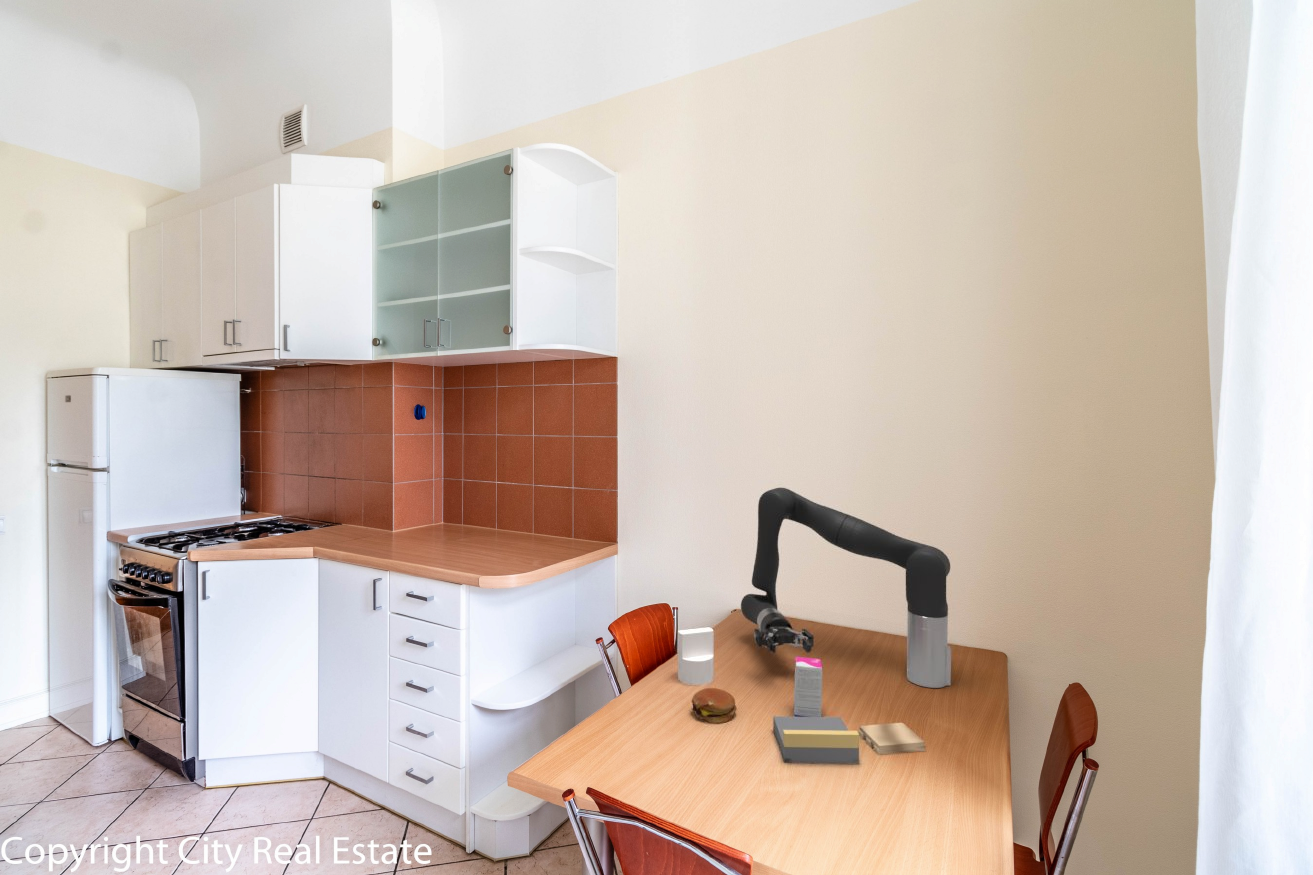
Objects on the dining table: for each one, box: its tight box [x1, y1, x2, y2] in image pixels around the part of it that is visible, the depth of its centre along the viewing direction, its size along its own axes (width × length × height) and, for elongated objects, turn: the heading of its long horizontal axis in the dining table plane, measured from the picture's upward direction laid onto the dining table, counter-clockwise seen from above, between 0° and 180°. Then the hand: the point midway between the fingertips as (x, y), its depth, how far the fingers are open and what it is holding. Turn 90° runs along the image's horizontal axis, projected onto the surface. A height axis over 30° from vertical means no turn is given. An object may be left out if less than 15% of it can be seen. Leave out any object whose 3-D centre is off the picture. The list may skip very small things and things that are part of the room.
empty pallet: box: [858, 722, 927, 756], centre depth 120 cm, size 10×8×2 cm
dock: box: [772, 715, 860, 765], centre depth 118 cm, size 14×12×6 cm
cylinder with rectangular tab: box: [677, 626, 715, 686], centre depth 151 cm, size 9×9×12 cm
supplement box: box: [793, 656, 823, 717], centre depth 132 cm, size 6×6×12 cm
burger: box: [691, 687, 738, 725], centre depth 132 cm, size 10×9×5 cm
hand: (791, 648), depth 144 cm, fingers open, 8 cm apart
